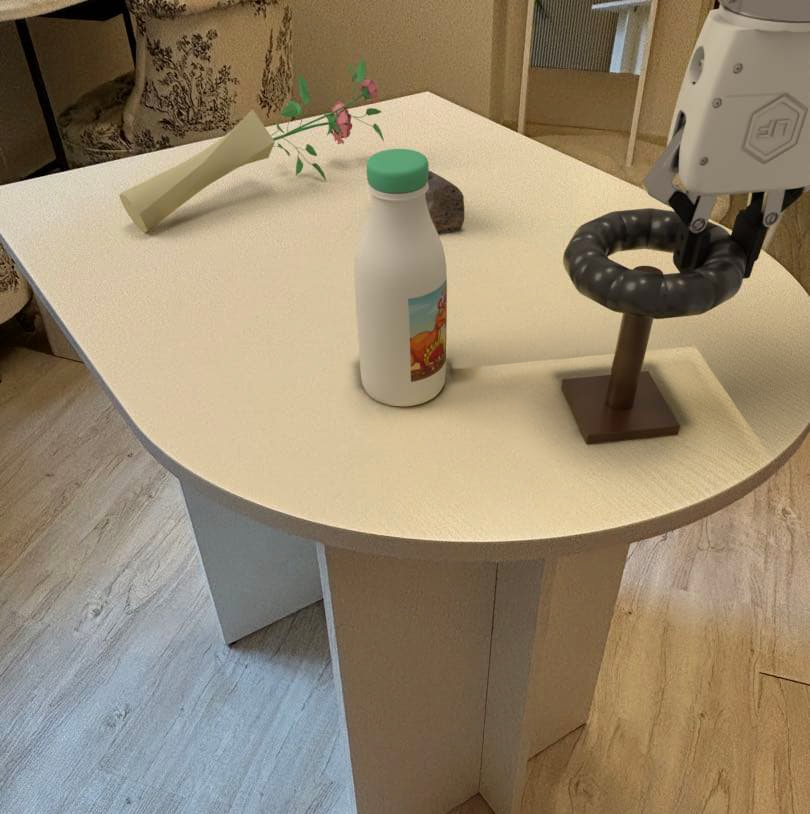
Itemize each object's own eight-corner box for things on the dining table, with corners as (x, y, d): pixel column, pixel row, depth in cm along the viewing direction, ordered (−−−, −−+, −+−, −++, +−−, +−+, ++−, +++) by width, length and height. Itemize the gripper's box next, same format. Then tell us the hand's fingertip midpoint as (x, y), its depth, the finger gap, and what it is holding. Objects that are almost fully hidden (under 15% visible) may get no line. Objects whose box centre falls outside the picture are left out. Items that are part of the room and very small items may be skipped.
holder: (646, 379, 73) (679, 243, 63) (678, 434, 67) (719, 295, 58) (560, 388, 72) (581, 252, 63) (586, 444, 67) (612, 305, 57)
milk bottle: (381, 418, 70) (368, 189, 55) (349, 371, 74) (329, 149, 60) (460, 395, 72) (468, 168, 57) (423, 351, 76) (422, 131, 62)
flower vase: (157, 274, 103) (361, 141, 112) (191, 284, 94) (410, 138, 103) (102, 185, 96) (325, 51, 105) (132, 187, 86) (373, 40, 95)
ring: (698, 232, 65) (707, 195, 63) (768, 316, 57) (782, 277, 54) (544, 246, 65) (548, 210, 62) (591, 334, 56) (598, 295, 54)
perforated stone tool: (357, 210, 98) (353, 151, 92) (392, 198, 100) (390, 140, 95) (432, 256, 89) (432, 195, 84) (468, 242, 91) (470, 181, 86)
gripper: (679, 14, 44) (622, 308, 58) (957, -6, 45) (838, 287, 59) (635, -20, 49) (592, 258, 63) (886, -36, 51) (791, 240, 64)
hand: (711, 270), depth 61 cm, fingers closed on ring, 3 cm apart
